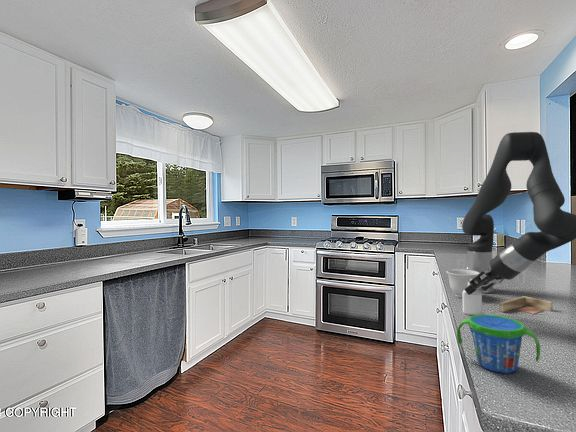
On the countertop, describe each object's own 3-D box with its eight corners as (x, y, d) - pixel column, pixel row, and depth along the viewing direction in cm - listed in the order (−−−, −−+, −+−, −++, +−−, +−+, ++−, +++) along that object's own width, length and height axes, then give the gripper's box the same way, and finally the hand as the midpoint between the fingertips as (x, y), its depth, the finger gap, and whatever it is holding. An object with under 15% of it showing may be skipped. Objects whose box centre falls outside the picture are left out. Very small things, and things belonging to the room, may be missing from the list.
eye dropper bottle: (480, 317, 99) (479, 281, 99) (461, 313, 103) (460, 278, 103) (483, 314, 103) (482, 278, 102) (465, 310, 107) (464, 276, 106)
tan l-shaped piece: (499, 311, 105) (499, 302, 105) (523, 304, 112) (523, 296, 112) (528, 319, 97) (528, 309, 97) (552, 310, 104) (552, 301, 104)
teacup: (467, 290, 132) (467, 267, 132) (486, 300, 117) (486, 274, 117) (439, 290, 133) (438, 268, 133) (454, 300, 119) (453, 275, 118)
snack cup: (451, 362, 71) (450, 319, 71) (466, 347, 78) (465, 308, 78) (536, 389, 60) (535, 338, 59) (544, 369, 67) (543, 324, 67)
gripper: (514, 249, 97) (479, 278, 108) (489, 253, 91) (453, 283, 101) (534, 268, 93) (495, 296, 103) (508, 274, 86) (469, 303, 96)
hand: (474, 290), depth 102 cm, fingers open, 8 cm apart
